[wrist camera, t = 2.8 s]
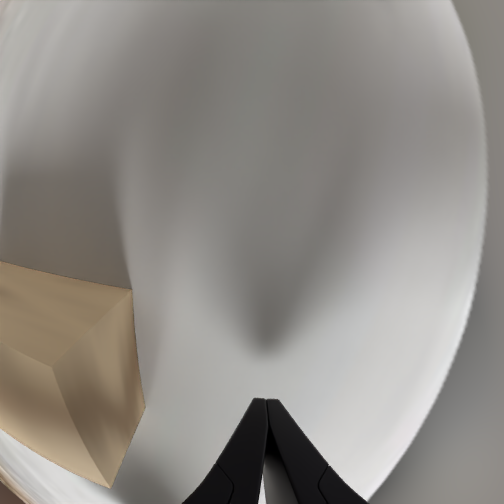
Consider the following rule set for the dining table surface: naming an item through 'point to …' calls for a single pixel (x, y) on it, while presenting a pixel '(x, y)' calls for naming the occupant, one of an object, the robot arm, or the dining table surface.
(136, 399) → the oak block
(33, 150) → the dining table surface
